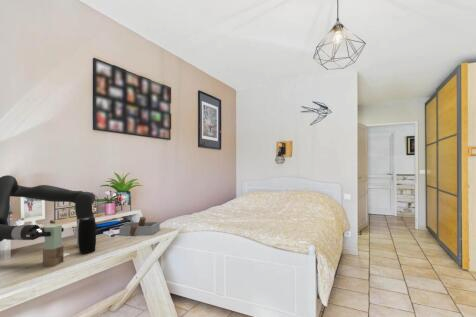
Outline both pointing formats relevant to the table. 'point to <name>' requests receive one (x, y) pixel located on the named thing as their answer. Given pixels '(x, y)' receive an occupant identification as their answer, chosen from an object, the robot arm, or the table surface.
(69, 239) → the table surface
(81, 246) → the portable speaker
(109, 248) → the table surface
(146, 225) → the organizer tray
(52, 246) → the sage brick
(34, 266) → the table surface
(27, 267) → the table surface
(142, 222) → the wooden block set
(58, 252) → the walnut brick
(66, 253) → the page
